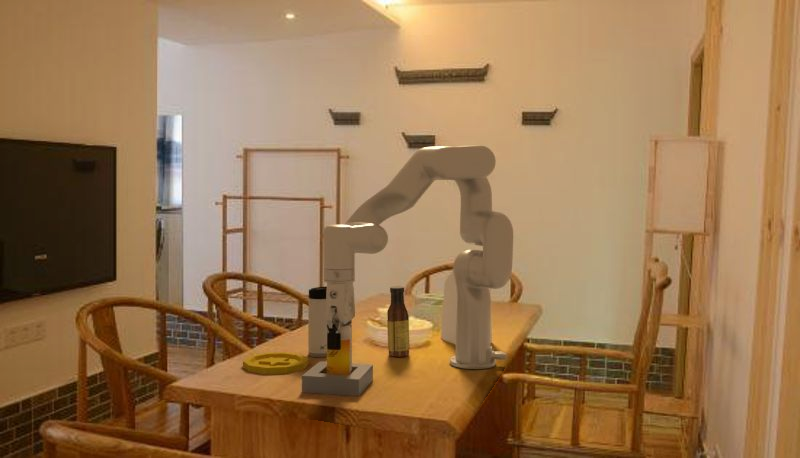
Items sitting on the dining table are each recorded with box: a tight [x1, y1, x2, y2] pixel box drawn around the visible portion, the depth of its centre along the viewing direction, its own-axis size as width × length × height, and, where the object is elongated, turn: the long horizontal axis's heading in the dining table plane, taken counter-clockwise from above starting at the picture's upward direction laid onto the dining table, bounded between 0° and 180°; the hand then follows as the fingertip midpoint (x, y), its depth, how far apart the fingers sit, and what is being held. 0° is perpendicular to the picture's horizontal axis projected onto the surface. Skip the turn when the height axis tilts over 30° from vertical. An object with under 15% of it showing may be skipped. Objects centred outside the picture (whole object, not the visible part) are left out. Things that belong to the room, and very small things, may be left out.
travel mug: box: [307, 285, 327, 358], centre depth 210 cm, size 6×7×20 cm
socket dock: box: [301, 360, 374, 397], centre depth 179 cm, size 14×14×4 cm
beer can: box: [326, 322, 353, 375], centre depth 179 cm, size 6×6×15 cm
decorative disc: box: [242, 351, 310, 375], centre depth 198 cm, size 17×18×2 cm
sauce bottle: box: [386, 285, 411, 358], centre depth 210 cm, size 6×6×20 cm
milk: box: [440, 270, 493, 346], centre depth 230 cm, size 12×12×26 cm
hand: (339, 344), depth 179 cm, fingers open, 9 cm apart
